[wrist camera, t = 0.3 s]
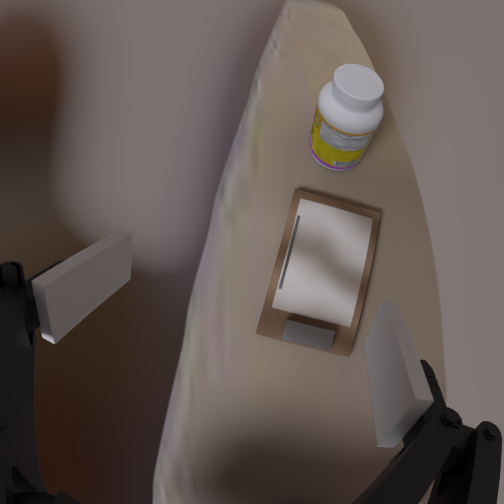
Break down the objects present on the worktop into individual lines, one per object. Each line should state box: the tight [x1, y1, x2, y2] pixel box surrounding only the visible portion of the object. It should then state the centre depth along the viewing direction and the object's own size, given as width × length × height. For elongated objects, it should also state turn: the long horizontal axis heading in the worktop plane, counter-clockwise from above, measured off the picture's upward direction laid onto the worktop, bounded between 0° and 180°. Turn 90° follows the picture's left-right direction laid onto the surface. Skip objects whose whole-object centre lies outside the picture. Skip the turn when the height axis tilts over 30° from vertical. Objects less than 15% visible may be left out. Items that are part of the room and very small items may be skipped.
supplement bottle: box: [309, 64, 384, 171], centre depth 29 cm, size 7×7×13 cm
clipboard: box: [256, 189, 380, 357], centre depth 31 cm, size 16×10×2 cm, turn 164°
